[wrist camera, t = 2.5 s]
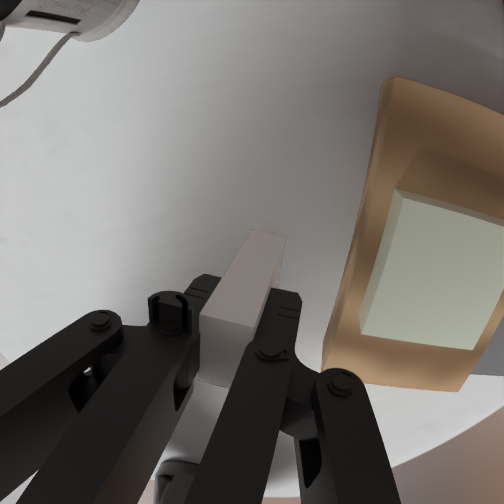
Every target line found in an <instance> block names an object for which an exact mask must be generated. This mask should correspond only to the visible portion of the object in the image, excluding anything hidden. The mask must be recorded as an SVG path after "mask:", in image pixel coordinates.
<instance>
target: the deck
mask: <svg viewBox="0 0 504 504" xmlns="http://www.w3.org/2000/svg"><path fill="white" fill-rule="evenodd" d="M394 188H396V189H400V190H404V191H407V192H411V193H415V194H419V195H423V196H426V197H430V198H434V199H437V200H441V201H444V202H448V203H451V204H455V205H458V206H462V207H465V208H468V209H471V210H475V211H478V212H481V213H484V214H487V215H490V216H493V217H496V218H499V219H502V220H504V115H502V114H500V113H498V112H496V111H493V110H491V109H489V108H486V107H484V106H482V105H479V104H477V103H475V102H472V101H470V100H467V99H464V98H462V97H459V96H457V95H454V94H451V93H448V92H446V91H443V90H440V89H437V88H434V87H431V86H428V85H425V84H421V83H418V82H415V81H412V80H408V79H405V78H401V77H397V76H394V77H392V78H391V79H389V80H387V81H386V82H384V83H382V88H381V95H380V102H379V109H378V115H377V122H376V128H375V134H374V140H373V145H372V151H371V156H370V161H369V167H368V172H367V177H366V182H365V186H364V191H363V196H362V200H361V205H360V209H359V214H358V218H357V222H356V227H355V231H354V235H353V239H352V243H351V247H350V251H349V255H348V259H347V262H346V266H345V270H344V274H343V277H342V281H341V284H340V288H339V291H338V295H337V298H336V302H335V305H334V309H333V312H332V315H331V319H330V322H329V325H328V328H327V331H326V335H325V338H324V341H323V350H322V365H321V372H323V371H324V370H326V369H330V368H342V369H346V370H349V371H351V372H353V373H355V374H356V375H357V376H358V377H359V378H360V379H361V380H362V382H363V383H368V384H376V385H384V386H392V387H401V388H411V389H421V390H433V391H447V392H458V391H459V390H460V388H461V387H462V385H463V384H464V382H465V381H466V379H467V378H468V376H469V375H470V373H471V372H472V370H473V368H474V367H475V365H476V364H477V362H478V360H479V359H480V357H481V355H482V354H483V352H484V350H485V349H486V347H487V345H488V343H489V342H490V340H491V338H492V336H493V334H494V333H495V331H496V329H497V327H498V325H499V323H500V321H501V319H502V317H503V315H504V289H503V291H502V294H501V296H500V298H499V300H498V302H497V304H496V307H495V309H494V311H493V313H492V315H491V317H490V319H489V321H488V323H487V325H486V327H485V329H484V330H483V332H482V334H481V336H480V338H479V340H478V342H477V343H476V345H475V347H474V349H473V350H466V349H458V348H450V347H442V346H435V345H427V344H420V343H413V342H407V341H400V340H394V339H387V338H381V337H375V336H369V335H363V334H361V330H360V320H359V310H360V307H361V304H362V301H363V298H364V295H365V292H366V289H367V286H368V283H369V280H370V277H371V273H372V270H373V267H374V264H375V260H376V257H377V253H378V250H379V246H380V243H381V239H382V235H383V232H384V228H385V224H386V220H387V216H388V212H389V208H390V204H391V200H392V196H393V192H394Z"/></svg>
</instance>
